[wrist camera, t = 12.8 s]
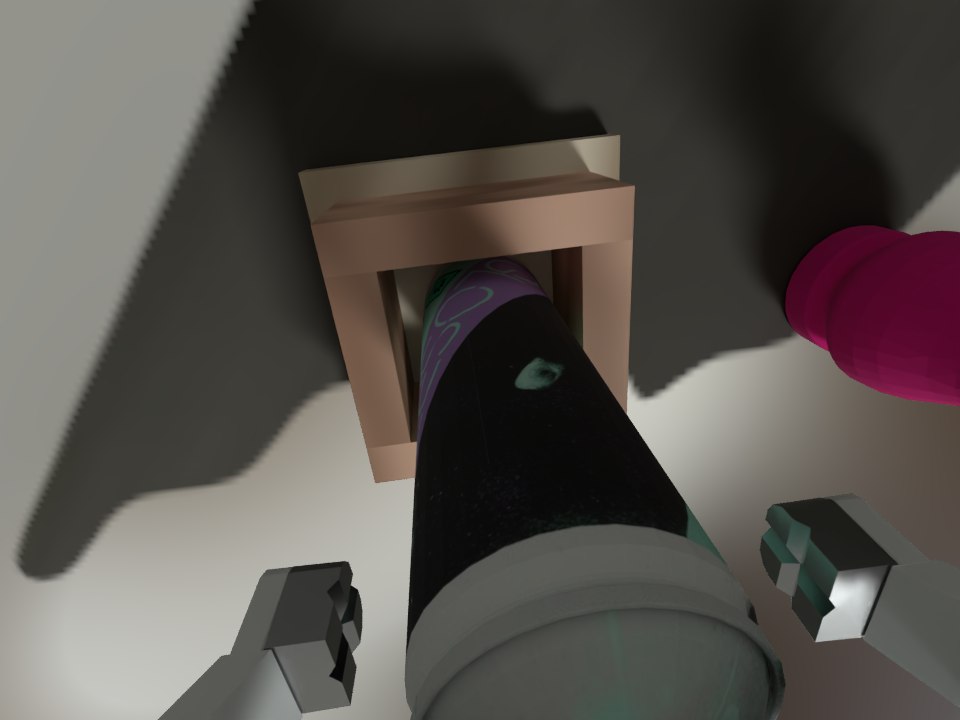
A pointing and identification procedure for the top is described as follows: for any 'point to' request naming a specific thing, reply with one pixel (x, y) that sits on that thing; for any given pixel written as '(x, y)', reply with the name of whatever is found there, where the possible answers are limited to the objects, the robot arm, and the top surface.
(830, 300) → the pepper mill
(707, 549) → the spray can
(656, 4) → the top surface
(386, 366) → the can holder
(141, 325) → the top surface
